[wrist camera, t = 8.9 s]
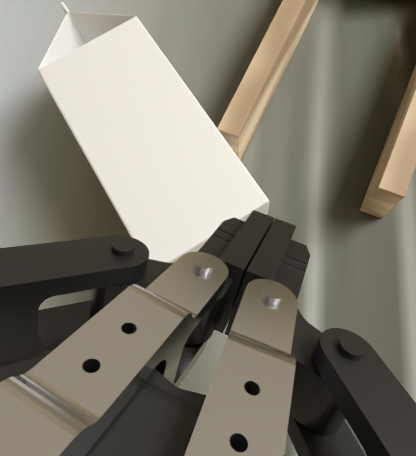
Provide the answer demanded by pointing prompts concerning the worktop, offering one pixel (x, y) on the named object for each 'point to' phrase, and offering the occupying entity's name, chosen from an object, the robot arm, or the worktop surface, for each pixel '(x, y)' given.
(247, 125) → the U-rest
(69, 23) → the milk carton
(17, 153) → the worktop surface
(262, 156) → the worktop surface
